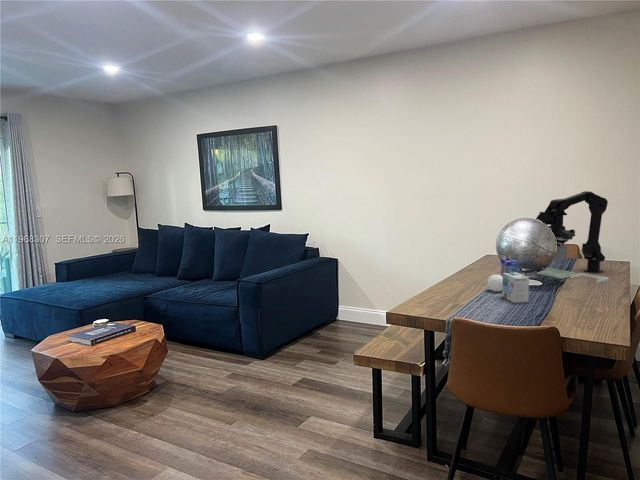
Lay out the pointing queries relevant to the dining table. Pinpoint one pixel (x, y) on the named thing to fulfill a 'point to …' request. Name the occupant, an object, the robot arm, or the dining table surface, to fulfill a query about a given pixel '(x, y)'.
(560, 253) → the grey box with tab
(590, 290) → the dining table surface
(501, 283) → the white rounded piece
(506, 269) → the ink cartridge box
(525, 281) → the light bulb box
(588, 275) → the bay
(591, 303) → the dining table surface
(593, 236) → the robot arm
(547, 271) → the tray
